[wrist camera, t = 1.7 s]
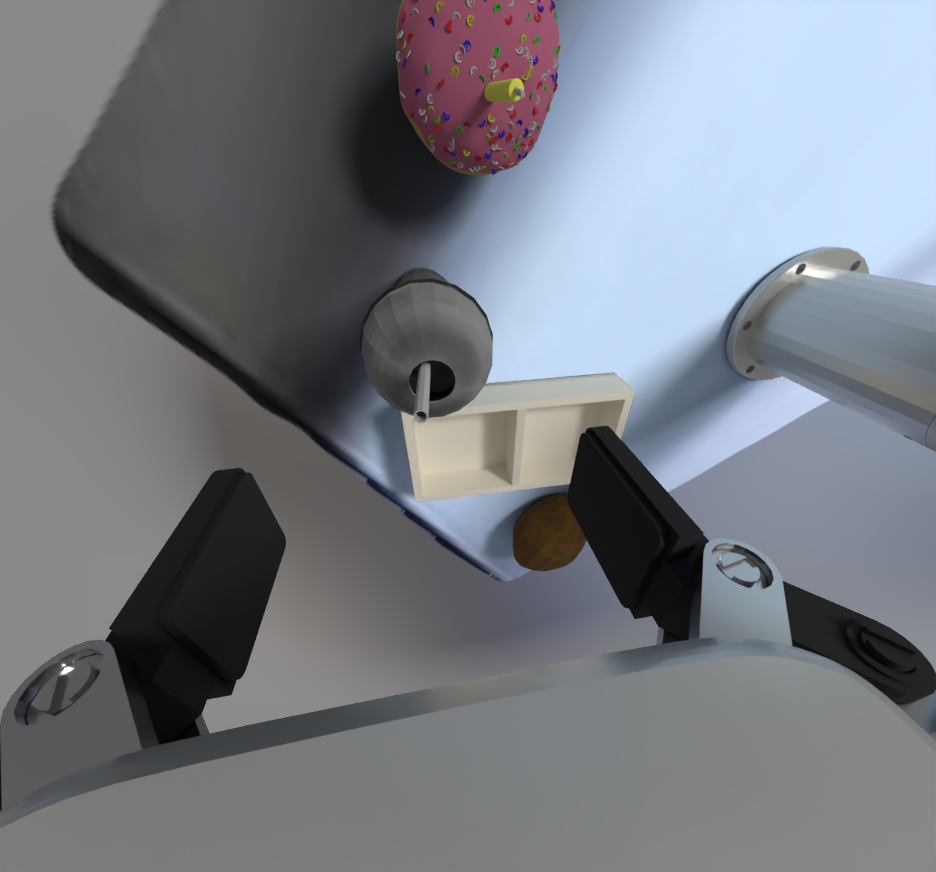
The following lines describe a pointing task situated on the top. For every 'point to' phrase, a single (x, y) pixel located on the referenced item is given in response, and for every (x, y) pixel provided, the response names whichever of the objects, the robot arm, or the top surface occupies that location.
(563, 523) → the potato
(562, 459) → the cup carrier
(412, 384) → the beverage cup
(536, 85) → the cupcake
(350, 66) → the top surface
